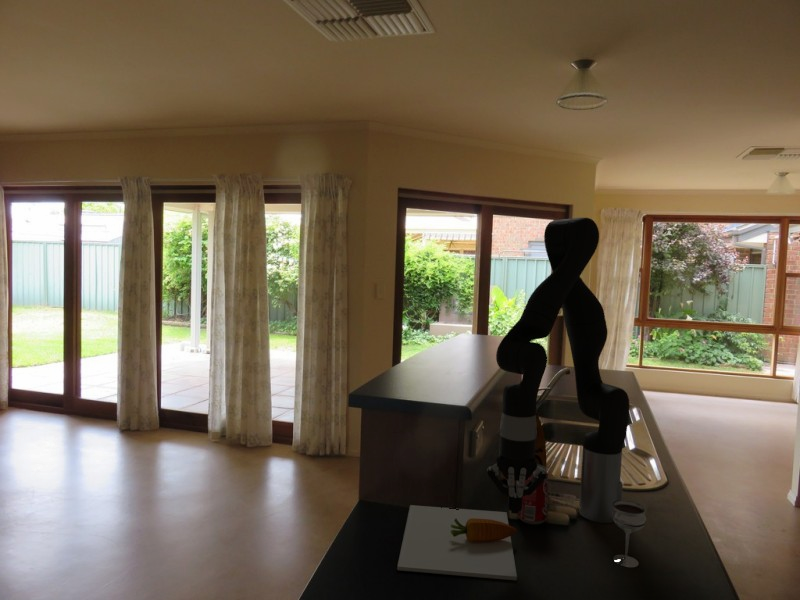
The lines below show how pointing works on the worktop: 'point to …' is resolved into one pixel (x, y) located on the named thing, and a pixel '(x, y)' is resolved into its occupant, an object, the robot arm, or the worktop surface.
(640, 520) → the wineglass
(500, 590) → the worktop surface
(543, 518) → the soda can
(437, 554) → the rubber mat
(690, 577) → the worktop surface
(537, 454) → the coffee package
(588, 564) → the worktop surface
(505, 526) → the carrot
